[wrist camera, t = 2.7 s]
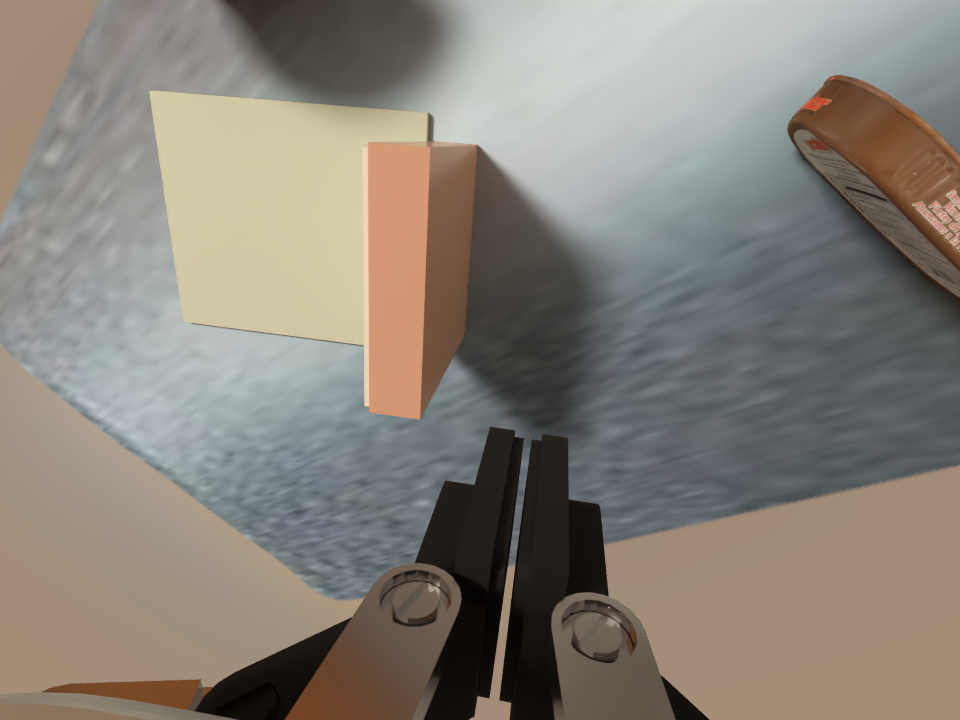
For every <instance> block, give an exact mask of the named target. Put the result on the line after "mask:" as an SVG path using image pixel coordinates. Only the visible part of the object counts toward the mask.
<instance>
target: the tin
mask: <svg viewBox="0 0 960 720" xmlns="http://www.w3.org/2000/svg"><path fill="white" fill-rule="evenodd" d="M788 134H789V137H790V139H791V140H792V142H793V144H794V145H795V147H796V148H797V149H798V151H799V152H800V153H801V155H802V156H803V157H804V158H805V159H806V160H807V161H808V162H809V163H810V164H811V166H812V167H813V168H814V169H815V170H816V171H817V172H818V173H819V174H820V175H821V176H822V177H823V178H824V179H825V180H826V181H827V182H828V183H829V184H830V185H831V186H832V187H833V188H834V189H835V190H836V191H837V192H838V193H839V194H840V195H841V196H842V197H843V198H844V199H845V200H846V201H847V202H848V203H849V204H850V205H851V206H852V207H853V209H854V210H855V211H856V212H857V213H859V214H860V215H861V216H862V217H863V218H864V219H865V220H866V221H867V222H868V223H869V224H870V225H871V226H872V227H873V228H874V229H875V230H876V231H877V232H878V233H879V234H880V235H881V236H882V237H883V238H884V239H885V240H886V241H887V242H888V243H889V244H890V245H891V246H893V247H894V248H895V249H896V250H897V251H898V252H899V253H900V254H901V255H902V256H903V257H904V258H905V259H906V260H907V261H909V262H910V263H911V264H912V265H913V266H914V267H915V268H917V269H918V270H919V271H920V272H921V273H922V274H924V275H925V276H926V277H927V278H928V279H930V280H931V281H932V282H933V283H935V284H936V285H937V286H939V287H940V288H941V289H943V290H944V291H945V292H947V293H948V294H949V295H951V296H952V297H954V298H955V299H957V300H959V301H960V155H959V154H958V153H957V151H956V150H955V149H954V148H953V147H952V146H951V145H950V144H949V143H948V142H947V141H946V140H945V139H944V138H943V137H942V136H941V135H940V134H939V133H938V132H937V131H936V130H935V129H934V128H933V127H932V126H930V125H929V124H928V123H927V122H926V121H924V120H923V119H922V118H920V117H919V116H918V115H917V114H916V113H915V112H913V111H912V110H910V109H909V108H908V107H906V106H904V105H903V104H902V103H900V102H899V101H897V100H896V99H894V98H893V97H891V96H890V95H888V94H887V93H885V92H883V91H881V90H880V89H878V88H876V87H874V86H872V85H870V84H868V83H866V82H864V81H861V80H858V79H855V78H851V77H847V76H842V75H837V76H831V77H829V78H828V79H827V80H826V81H825V83H824V85H823V87H822V88H821V89H820V90H819V91H818V92H817V93H816V94H815V95H814V96H813V97H812V98H811V99H810V100H809V101H808V102H807V103H806V104H804V105H803V106H802V107H801V108H800V110H799V111H798V112H797V113H796V114H795V115H794V116H793V117H792V119H791V120H790V122H789V124H788Z"/></svg>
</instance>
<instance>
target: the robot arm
mask: <svg viewBox="0 0 960 720" xmlns="http://www.w3.org/2000/svg"><path fill="white" fill-rule="evenodd" d="M514 436H515V430H508V429H501V428H494V427H490V429H489V433H488V437H487V441H486V444H485V448H484V452H483V455H482V459H481V463H480V466H479V470H478V474H477V478H476V481H475V485H471V484H464V483H458V482H451V481H445V482H444V484H443V487H442V490H441V492H440V495H439V498H438V501H437V503H436V506H435V509H434V512H433V514H432V517H431V520H430V523H429V525H428V528H427V531H426V534H425V536H424V539H423V542H422V545H421V547H420V550H419V553H418V556H417V558H416V561H415V563H414V564H405V565H401V566H398V567H395V568H393V569H391V570H389V571H388V572H386V573H384V574H383V575H382V576H381V577H380V578H379V579H378V580H377V581H376V582H375V583H374V585H373V586H372V588H371V589H370V591H369V592H368V594H367V595H366V597H365V598H364V600H363V601H362V603H361V605H360V606H359V608H358V609H357V611H356V612H355V614H354V615H353V617H351V618H349V619H347V620H345V621H343V622H341V623H339V624H336V625H335V626H332V627H330V628H328V629H326V630H324V631H322V632H320V633H317V634H315V635H313V636H311V637H309V638H307V639H305V640H303V641H300V642H298V643H296V644H294V645H292V646H290V647H288V648H286V649H283V650H281V651H279V652H277V653H275V654H273V655H271V656H269V657H267V658H264V659H262V660H260V661H258V662H256V663H254V664H252V665H250V666H247V667H245V668H243V669H241V670H239V671H237V672H235V673H233V674H232V675H230V676H228V677H227V678H225V679H223V680H222V681H220V682H219V683H217V684H216V685H215V686H214V687H202V683H201V679H197V680H164V681H135V682H105V683H73V684H66V685H61V686H55V687H51V688H49V689H47V690H44V691H42V692H33V693H14V694H0V720H469V719H470V718H472V717H474V715H475V709H476V703H477V697H478V696H480V697H486V698H489V697H490V690H491V683H492V676H493V669H494V661H495V654H496V647H497V640H498V633H499V625H500V618H501V611H502V603H503V596H504V588H505V581H506V574H507V567H508V560H509V553H510V545H511V538H512V530H513V522H514V514H515V506H516V498H517V490H518V482H519V474H520V466H521V458H522V450H523V442H524V438H518V437H514ZM500 701H505V702H510V703H511V711H510V720H709V719H708V718H707V717H706V716H705V715H704V714H703V713H702V712H701V711H699V710H698V709H697V708H696V707H695V706H694V705H693V704H692V703H691V702H690V701H689V700H688V699H687V698H685V697H684V696H683V695H682V694H681V693H680V692H679V691H678V690H677V689H676V688H675V687H673V686H672V685H671V684H670V683H669V682H668V681H667V680H666V679H665V678H664V677H663V676H661V675H660V673H659V669H658V666H657V664H656V661H655V658H654V655H653V652H652V649H651V646H650V643H649V640H648V637H647V634H646V631H645V630H644V628H643V626H642V624H641V622H640V620H639V619H638V618H637V617H636V616H635V614H634V613H633V612H632V611H631V610H630V609H629V608H627V607H626V606H625V605H623V604H622V603H620V602H619V601H617V600H615V599H613V598H610V597H609V595H608V585H607V575H606V564H605V554H604V543H603V533H602V523H601V512H600V506H599V505H598V504H594V503H587V502H581V501H574V500H569V494H568V438H565V437H558V436H551V435H544V434H543V435H542V441H539V440H532V443H531V450H530V458H529V465H528V473H527V481H526V488H525V496H524V503H523V511H522V518H521V526H520V534H519V541H518V549H517V557H516V565H515V575H514V582H513V591H512V599H511V608H510V616H509V624H508V632H507V641H506V650H505V657H504V666H503V674H502V682H501V691H500Z"/></svg>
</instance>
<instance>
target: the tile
mask: <svg viewBox="0 0 960 720" xmlns="http://www.w3.org/2000/svg"><path fill="white" fill-rule="evenodd" d="M477 151H478V145H473V144H462V143H450V142H438V141H422V142H368V147H362V169H363V284H364V399H365V406H369V412H371V413H378V414H385V415H392V416H398V417H405V418H412V419H419V420H420V419H421V417H422V415H423V413H424V411H425V409H426V408H427V406H428V404H429V402H430V400H431V398H432V396H433V394H434V392H435V390H436V389H437V387H438V385H439V383H440V381H441V379H442V377H443V375H444V373H445V372H446V370H447V368H448V366H449V364H450V362H451V360H452V358H453V356H454V355H455V353H456V351H457V349H458V347H459V345H460V343H461V341H462V339H463V337H464V336H465V323H466V309H467V295H468V280H469V266H470V251H471V237H472V223H473V208H474V194H475V179H476V165H477Z"/></svg>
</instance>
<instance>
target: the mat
mask: <svg viewBox="0 0 960 720" xmlns="http://www.w3.org/2000/svg"><path fill="white" fill-rule="evenodd" d="M149 92H150V99H151V106H152V113H153V119H154V126H155V133H156V140H157V146H158V153H159V160H160V167H161V174H162V180H163V187H164V194H165V201H166V208H167V214H168V221H169V228H170V235H171V242H172V248H173V255H174V262H175V269H176V276H177V282H178V289H179V296H180V303H181V310H182V316H183V322H188V323H196V324H204V325H212V326H219V327H227V328H235V329H242V330H250V331H258V332H265V333H273V334H281V335H288V336H296V337H304V338H312V339H319V340H327V341H335V342H342V343H350V344H358V345H364V284H363V169H362V147H368V142H422V141H428V130H429V113H425V112H413V111H400V110H387V109H375V108H362V107H350V106H337V105H325V104H312V103H299V102H287V101H274V100H262V99H249V98H237V97H224V96H212V95H199V94H186V93H174V92H161V91H149Z"/></svg>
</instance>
